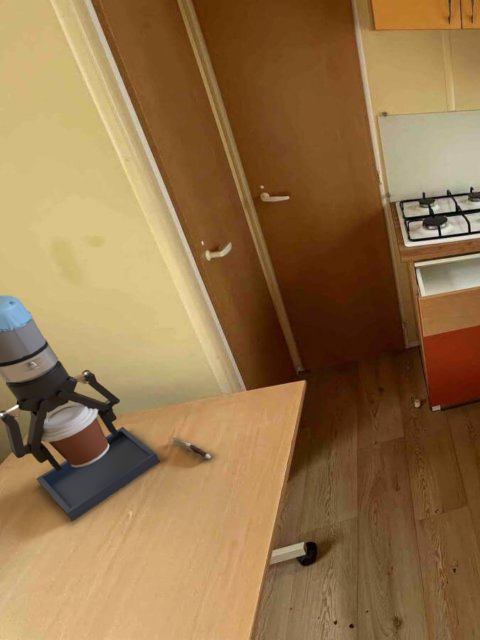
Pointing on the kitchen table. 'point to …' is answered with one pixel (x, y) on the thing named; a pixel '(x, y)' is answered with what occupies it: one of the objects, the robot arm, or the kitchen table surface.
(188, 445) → the pocket knife
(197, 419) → the kitchen table surface
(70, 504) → the tray
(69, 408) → the coffee cup
